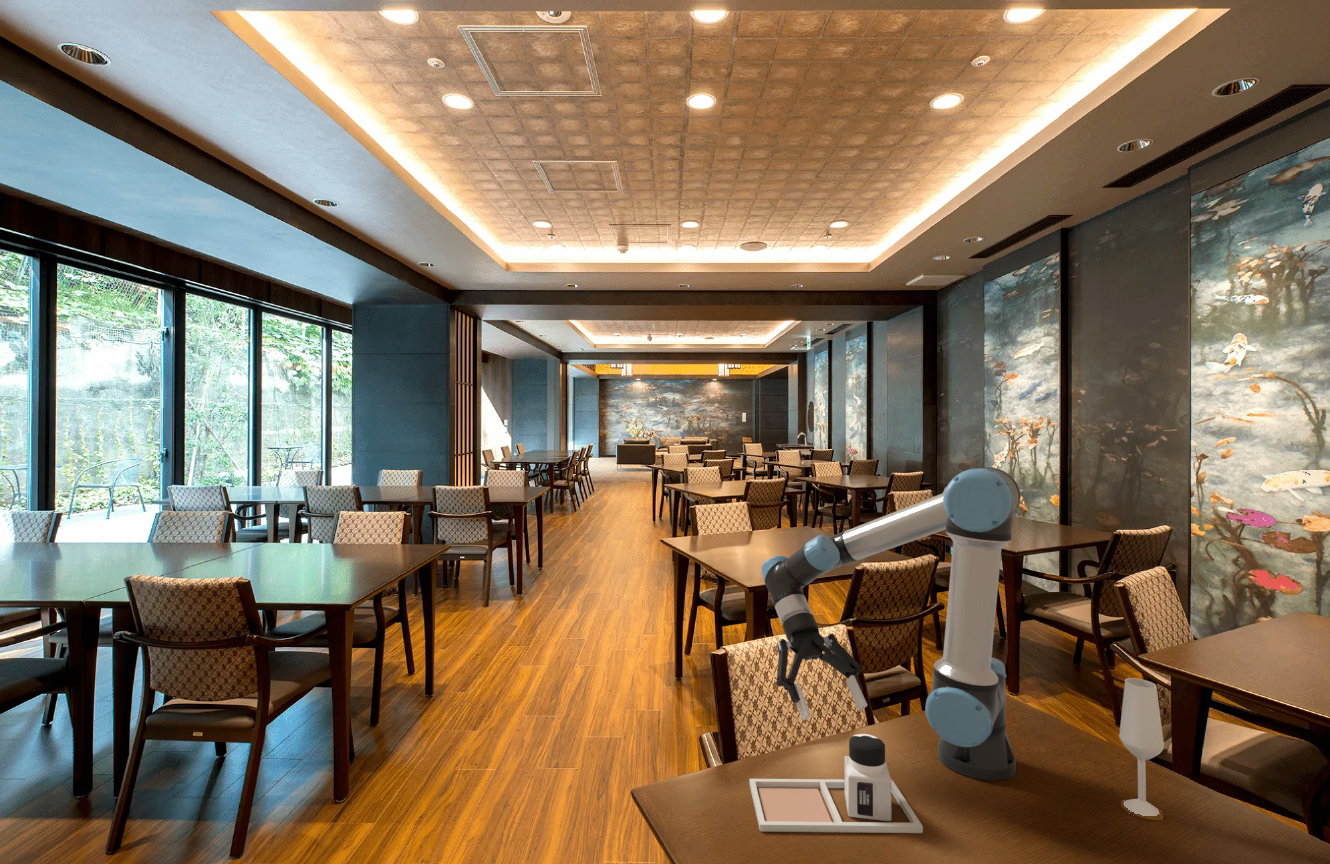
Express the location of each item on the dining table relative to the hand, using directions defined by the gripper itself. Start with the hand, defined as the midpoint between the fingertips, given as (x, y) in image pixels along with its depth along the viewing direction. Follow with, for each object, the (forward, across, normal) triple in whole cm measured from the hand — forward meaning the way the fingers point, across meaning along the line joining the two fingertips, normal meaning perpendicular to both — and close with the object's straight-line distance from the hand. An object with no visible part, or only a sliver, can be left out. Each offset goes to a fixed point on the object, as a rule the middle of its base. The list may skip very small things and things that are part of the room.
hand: (835, 712), depth 125 cm
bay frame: (+15, +6, -5) cm, 17 cm away
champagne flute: (+29, -49, +9) cm, 58 cm away
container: (+17, 0, -3) cm, 17 cm away
